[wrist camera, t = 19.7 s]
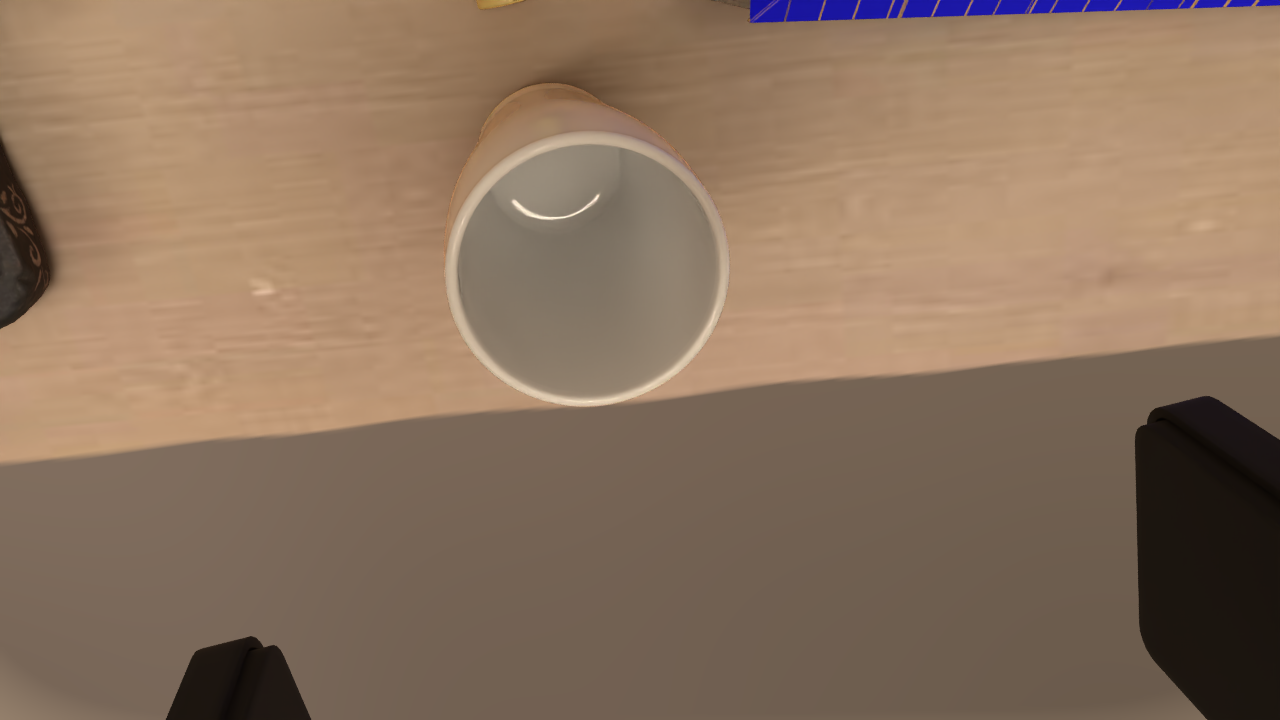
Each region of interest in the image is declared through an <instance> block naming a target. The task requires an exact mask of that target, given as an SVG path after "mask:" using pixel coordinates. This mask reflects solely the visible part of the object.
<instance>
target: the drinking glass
mask: <svg viewBox="0 0 1280 720" xmlns="http://www.w3.org/2000/svg"><path fill="white" fill-rule="evenodd" d="M444 270H445V285H446V294H447V298H448V303H449V307H450V310H451V313H452V316H453V319H454V322H455V324H456V326H457V328H458V330H459V333H460V334H461V336H462V338H463V339H464V341H465V343H466V344H467V346H468V347H469V349H470V350H471V351H472V353H473V354H474V355H475V357H476V358H477V359H478V360H479V361H480V362H481V363H482V364H483V365H484V366H485V367H486V368H487V369H488V370H489V371H490V372H491V373H492V374H493V375H495V376H496V377H497V378H499V379H500V380H501V381H503V382H504V383H506V384H507V385H509V386H511V387H512V388H514V389H516V390H518V391H520V392H522V393H524V394H526V395H528V396H531V397H534V398H536V399H539V400H543V401H546V402H550V403H554V404H560V405H566V406H578V407H591V406H602V405H609V404H614V403H619V402H623V401H626V400H630V399H633V398H635V397H638V396H641V395H643V394H645V393H647V392H649V391H651V390H653V389H656V388H657V387H659V386H660V385H662V384H664V383H665V382H667V381H668V380H670V379H671V378H672V377H674V376H675V375H677V374H678V373H679V372H680V371H681V370H682V369H683V368H685V367H686V366H687V365H688V364H689V363H690V362H691V361H692V360H693V359H694V357H695V356H696V355H697V354H698V353H699V352H700V350H701V349H702V348H703V346H704V345H705V344H706V342H707V340H708V339H709V337H710V336H711V334H712V332H713V330H714V328H715V326H716V325H717V323H718V320H719V318H720V315H721V313H722V310H723V307H724V304H725V300H726V297H727V291H728V286H729V277H730V254H729V245H728V240H727V235H726V231H725V228H724V225H723V222H722V219H721V216H720V214H719V212H718V209H717V207H716V205H715V203H714V201H713V200H712V198H711V196H710V195H709V193H708V192H707V190H706V189H705V187H704V186H703V184H702V182H701V181H700V179H699V178H698V176H697V175H696V174H695V172H694V171H693V170H692V168H691V167H690V165H689V164H688V163H687V162H686V161H685V159H684V158H683V157H682V156H681V155H680V154H679V153H678V152H677V150H676V149H675V148H674V147H673V146H672V145H671V144H670V143H668V142H667V141H666V140H665V139H664V138H663V137H662V136H661V135H659V134H658V133H657V132H656V131H654V130H653V129H652V128H650V127H649V126H648V125H646V124H645V123H643V122H641V121H640V120H638V119H636V118H635V117H633V116H631V115H629V114H627V113H625V112H623V111H621V110H618V109H616V108H614V107H611V106H609V105H607V104H604V103H602V102H601V101H600V100H599V99H597V98H596V97H595V96H593V95H591V94H590V93H588V92H586V91H584V90H582V89H580V88H577V87H574V86H571V85H567V84H561V83H541V84H535V85H531V86H528V87H525V88H523V89H520V90H518V91H516V92H514V93H513V94H511V95H509V96H508V97H507V98H505V99H504V100H503V101H502V102H500V103H499V104H498V105H497V106H496V108H495V109H494V110H493V111H492V112H491V114H490V115H489V117H488V118H487V120H486V122H485V123H484V125H483V128H482V130H481V132H480V135H479V139H478V143H477V145H476V146H475V148H474V150H473V151H472V153H471V154H470V156H469V158H468V160H467V161H466V163H465V165H464V167H463V169H462V171H461V173H460V175H459V178H458V180H457V182H456V185H455V187H454V190H453V194H452V197H451V200H450V204H449V209H448V214H447V219H446V226H445V237H444Z"/></svg>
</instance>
